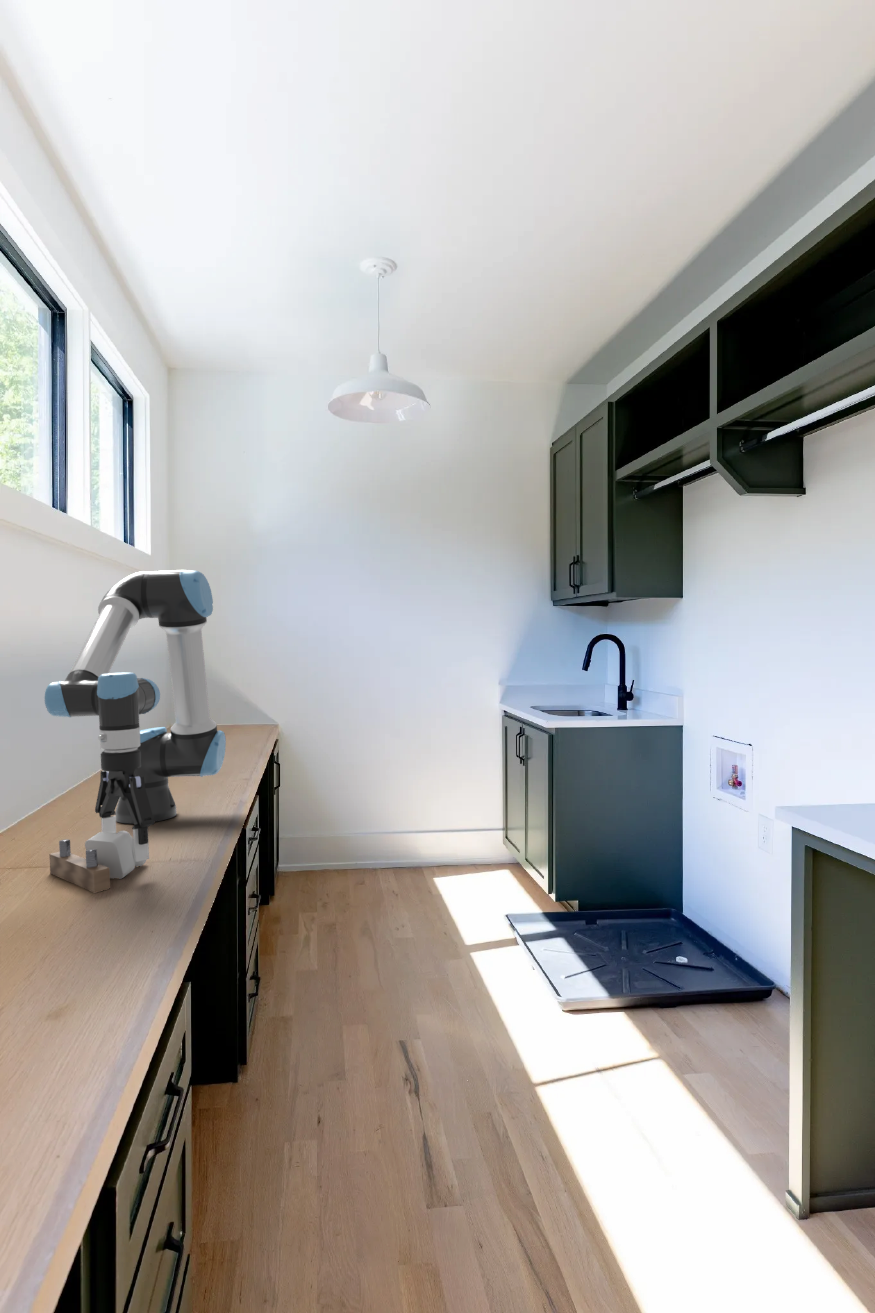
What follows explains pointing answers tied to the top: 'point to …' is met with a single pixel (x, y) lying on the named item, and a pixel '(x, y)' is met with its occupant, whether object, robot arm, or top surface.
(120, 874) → the white knobbed block
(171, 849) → the top surface
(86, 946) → the top surface
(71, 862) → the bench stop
